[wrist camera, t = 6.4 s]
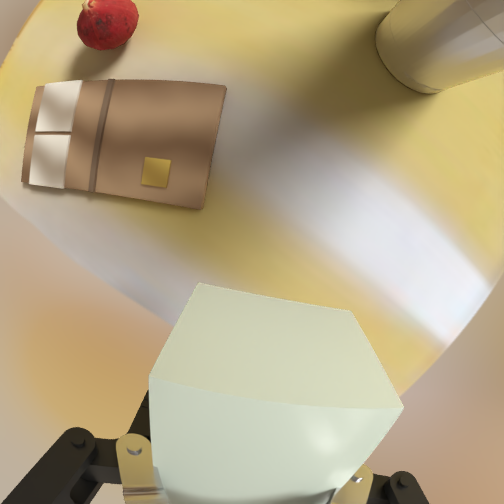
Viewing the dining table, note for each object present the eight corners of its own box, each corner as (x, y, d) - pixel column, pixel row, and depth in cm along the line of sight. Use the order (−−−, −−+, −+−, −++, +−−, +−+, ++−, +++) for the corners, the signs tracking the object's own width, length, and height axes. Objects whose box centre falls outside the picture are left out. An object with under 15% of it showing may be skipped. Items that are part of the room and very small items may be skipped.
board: (42, 87, 22) (34, 85, 21) (227, 87, 23) (225, 83, 21) (26, 181, 25) (18, 182, 24) (202, 209, 26) (199, 211, 24)
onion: (155, 42, 21) (121, 7, 14) (104, 69, 22) (59, 45, 14) (143, 5, 20) (112, -32, 12) (96, 30, 21) (56, 2, 13)
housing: (198, 282, 11) (148, 375, 6) (351, 310, 11) (404, 407, 6) (181, 446, 14) (160, 522, 8) (283, 461, 14) (285, 538, 9)
